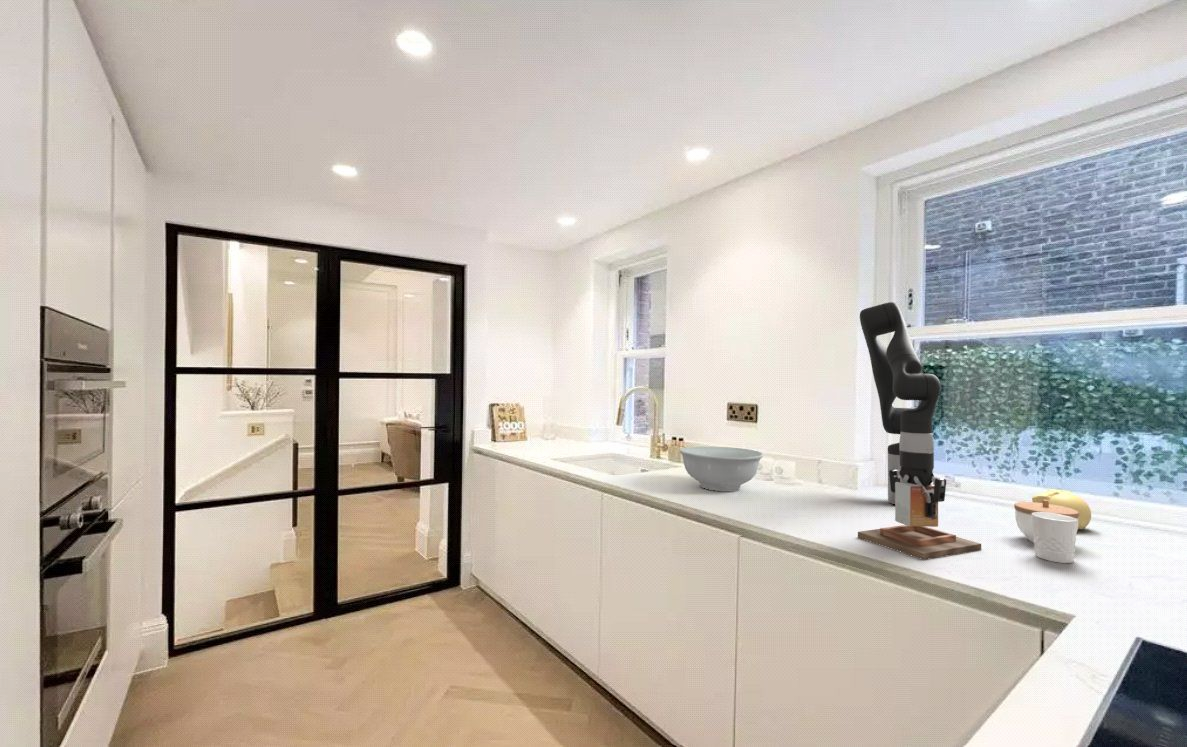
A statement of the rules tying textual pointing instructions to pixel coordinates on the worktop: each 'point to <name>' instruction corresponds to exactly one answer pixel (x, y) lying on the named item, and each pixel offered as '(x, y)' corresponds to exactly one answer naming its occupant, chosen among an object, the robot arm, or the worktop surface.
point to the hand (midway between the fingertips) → (916, 513)
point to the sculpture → (1067, 504)
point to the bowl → (721, 466)
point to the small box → (912, 506)
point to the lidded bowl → (1027, 508)
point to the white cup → (1054, 536)
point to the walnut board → (919, 541)
